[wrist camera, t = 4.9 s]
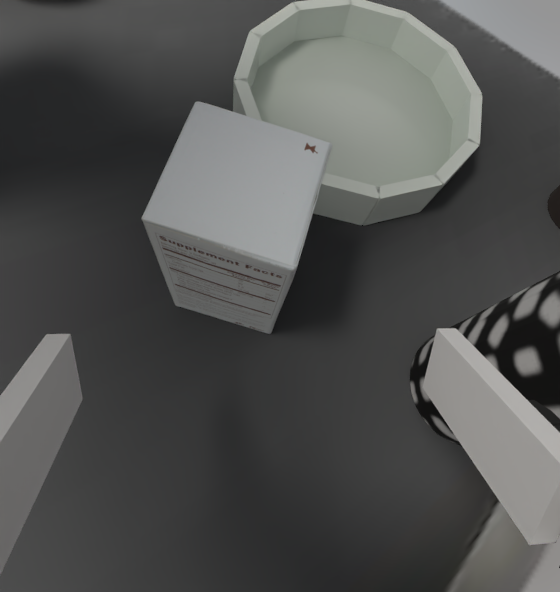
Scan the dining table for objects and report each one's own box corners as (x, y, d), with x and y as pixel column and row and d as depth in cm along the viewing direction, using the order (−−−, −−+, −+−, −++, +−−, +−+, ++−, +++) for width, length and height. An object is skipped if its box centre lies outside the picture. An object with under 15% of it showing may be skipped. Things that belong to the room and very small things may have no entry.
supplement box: (206, 221, 32) (195, 92, 20) (297, 250, 32) (339, 140, 21) (171, 307, 30) (135, 217, 18) (270, 339, 30) (299, 270, 18)
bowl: (209, 187, 33) (207, 154, 29) (265, 17, 40) (269, -27, 36) (448, 247, 34) (475, 223, 30) (461, 71, 41) (485, 33, 37)
